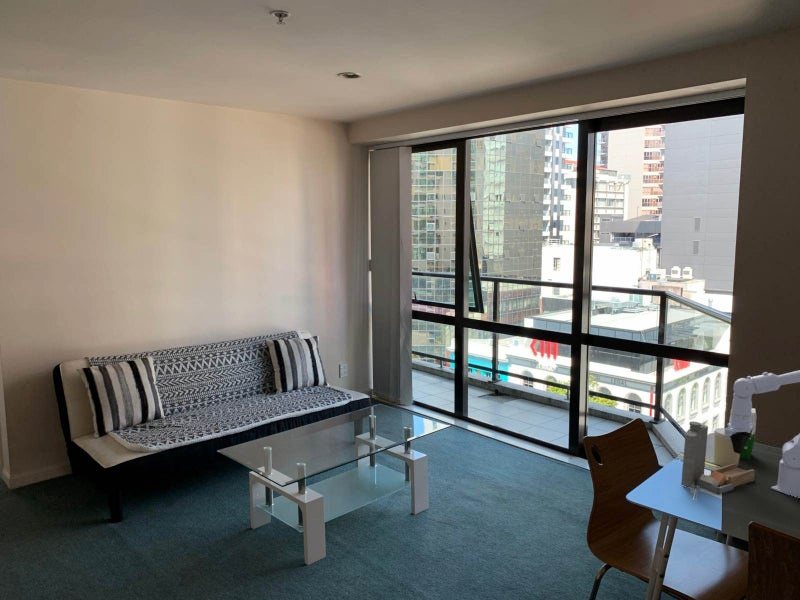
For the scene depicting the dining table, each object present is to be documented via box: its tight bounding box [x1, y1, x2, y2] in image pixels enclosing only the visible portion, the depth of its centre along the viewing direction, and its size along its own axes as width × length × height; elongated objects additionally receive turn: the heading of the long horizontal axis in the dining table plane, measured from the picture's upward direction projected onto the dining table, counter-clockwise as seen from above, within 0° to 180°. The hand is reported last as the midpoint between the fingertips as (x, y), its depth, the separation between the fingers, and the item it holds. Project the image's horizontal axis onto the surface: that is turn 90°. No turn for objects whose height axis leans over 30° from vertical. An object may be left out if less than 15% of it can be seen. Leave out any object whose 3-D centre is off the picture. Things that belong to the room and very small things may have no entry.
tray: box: [695, 474, 734, 495], centre depth 196 cm, size 8×8×2 cm
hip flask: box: [680, 421, 709, 488], centre depth 201 cm, size 16×4×20 cm, turn 137°
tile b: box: [700, 473, 719, 487], centre depth 195 cm, size 4×4×2 cm
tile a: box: [709, 469, 727, 487], centre depth 197 cm, size 4×4×2 cm
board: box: [710, 463, 756, 488], centre depth 202 cm, size 7×14×4 cm, turn 120°
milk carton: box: [728, 407, 757, 460], centre depth 226 cm, size 9×9×20 cm
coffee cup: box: [713, 427, 740, 467], centre depth 216 cm, size 9×9×12 cm
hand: (737, 452), depth 202 cm, fingers closed
